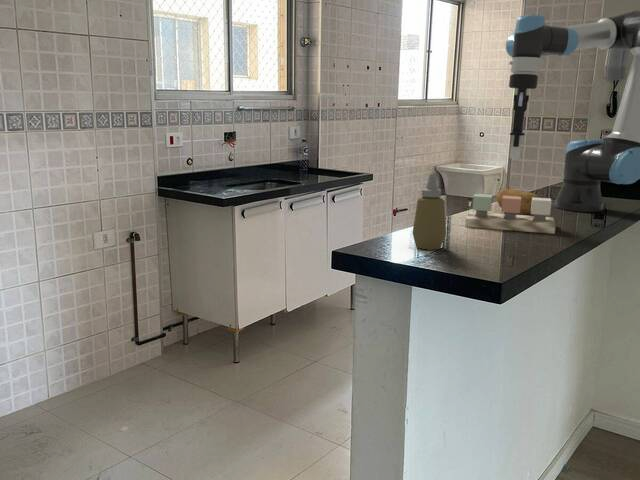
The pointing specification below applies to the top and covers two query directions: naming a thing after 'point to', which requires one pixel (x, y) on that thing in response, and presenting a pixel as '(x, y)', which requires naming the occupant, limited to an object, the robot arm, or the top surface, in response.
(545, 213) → the block cream
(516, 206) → the block terracotta
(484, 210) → the block sage
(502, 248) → the top surface
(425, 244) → the squeeze bottle
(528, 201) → the potato
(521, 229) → the board
